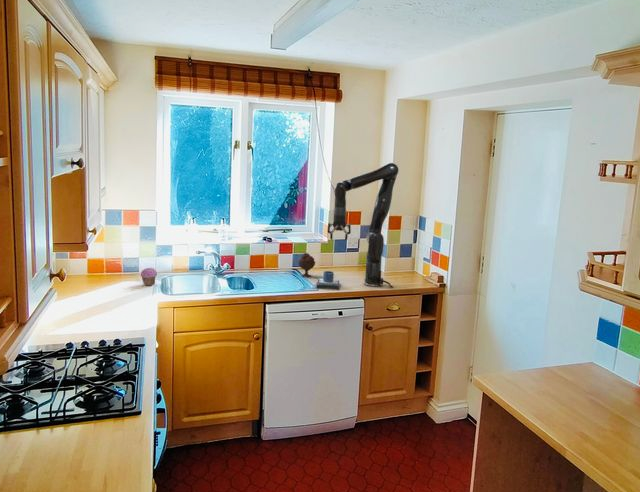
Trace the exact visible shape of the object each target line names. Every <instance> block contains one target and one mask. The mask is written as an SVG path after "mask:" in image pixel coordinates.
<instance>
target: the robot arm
mask: <svg viewBox="0 0 640 492" xmlns="http://www.w3.org/2000/svg"><path fill="white" fill-rule="evenodd" d="M399 171H400V170H399V167H398V165H397V164H396V163H394V162H388V163H386V164H384V165H383V166H381V167H379V168H377V169H374V170H372V171H369V172H366V173H361V174H359V175H356V176H354V177H351V178H348V179H345V180H341V181H338V182H337V183H336V184H335V186H334V208H333V223H331V222H328V224H327V233H328V234H330V235H329V239H330V240H331V241H333V237H334V234H333V233H335V231H336V232H337V231H341V232H342V231H343V232H344V234H345V235H344V242H347V241H348V235H350V234H351V232H352V231H351V230H352V229H351V228H352V226H351V223H346V222H347V221H346V220H347V198H346V196H347V192H349V191H351V190H355V189H360V188H362V187H365V186H367V185H370V184H372V183H374V182H377V181H381V185H380V187H379V189H378V193H377V195H376V199H375V201H374V207H373V211H372V216H371V222H370V224H369V228H368V230H367V234H366V237H365V239H366V242H367V243H368V246H367V251H366V259H365V278H364V285H365V286H368V287H381V285H384V283H385V284H387V285H388V286H389V287H390V288H394V285H392V284H391V283H390V282H389V281H387V280H384V277H382V261H383V260H382V256H383V253H384V244H385V239H384V236H383V234H382V228H383V225H384V223H385V221H386V218H387V217H388V215H389V213H390V208H391V205H392V199H393V190H394V186H395V183H396V179H397V177H398V175H399ZM331 227H333V228H332V230H331ZM346 228H348V231H347V230H346Z"/></svg>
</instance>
